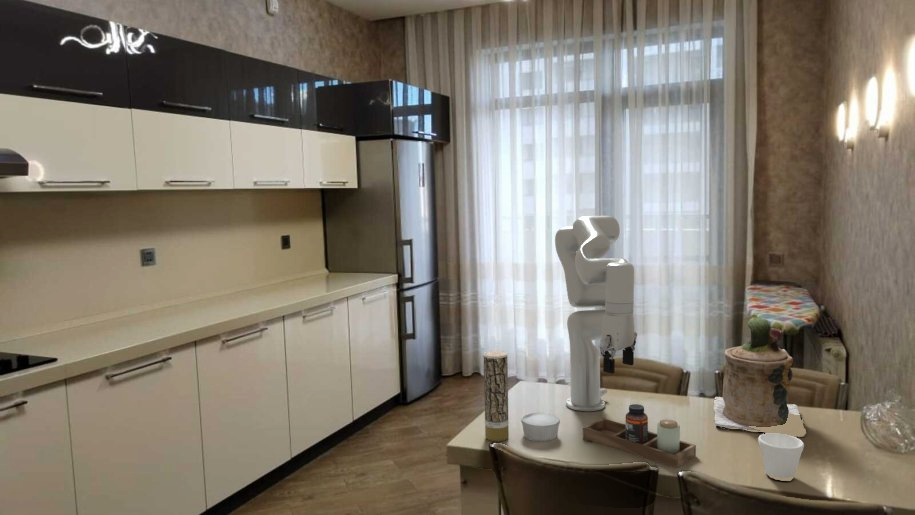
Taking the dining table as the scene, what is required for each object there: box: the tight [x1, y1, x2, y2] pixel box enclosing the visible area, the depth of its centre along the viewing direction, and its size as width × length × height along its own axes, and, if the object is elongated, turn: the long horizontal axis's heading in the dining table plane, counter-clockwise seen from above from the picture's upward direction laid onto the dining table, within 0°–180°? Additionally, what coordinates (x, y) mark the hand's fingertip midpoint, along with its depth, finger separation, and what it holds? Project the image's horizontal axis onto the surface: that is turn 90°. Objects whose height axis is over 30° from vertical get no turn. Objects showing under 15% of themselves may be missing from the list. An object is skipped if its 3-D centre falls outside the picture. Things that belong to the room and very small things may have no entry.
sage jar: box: [656, 418, 681, 455], centre depth 168 cm, size 6×6×9 cm
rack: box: [582, 417, 697, 469], centre depth 175 cm, size 10×29×4 cm, turn 43°
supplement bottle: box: [624, 403, 649, 445], centre depth 175 cm, size 6×6×11 cm
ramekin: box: [520, 412, 561, 443], centre depth 186 cm, size 11×11×5 cm
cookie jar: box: [712, 313, 804, 431], centre depth 193 cm, size 25×25×32 cm
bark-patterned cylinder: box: [483, 350, 510, 442], centre depth 184 cm, size 7×7×25 cm
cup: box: [757, 433, 805, 478], centre depth 156 cm, size 10×10×9 cm
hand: (618, 368), depth 177 cm, fingers open, 9 cm apart
